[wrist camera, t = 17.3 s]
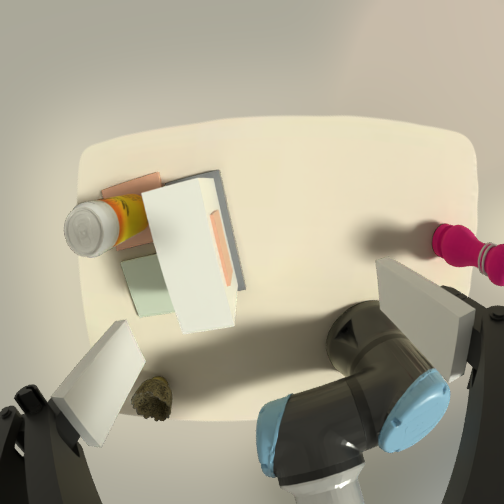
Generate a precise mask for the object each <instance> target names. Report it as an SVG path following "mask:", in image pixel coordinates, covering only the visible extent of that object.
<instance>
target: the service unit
mask: <svg viewBox="0 0 504 504" xmlns="http://www.w3.org/2000/svg"><path fill="white" fill-rule="evenodd" d="M165 185H166V186H165V187H161V188H157V189H154V190H150V191H147V192H144V193H141V194H142V198H143V202H144V207H145V211H146V215H147V219H148V223H149V227H150V230H151V234H152V238H153V242H154V245H155V249H156V252H157V256H158V259H159V263H160V266H161V270H162V273H163V276H164V279H165V283H166V286H167V289H168V292H169V295H170V298H171V301H172V304H173V307H174V310H175V313H176V316H177V319H178V322H179V325H180V327H181V330H182V333H183V334H189V333H196V332H203V331H209V330H215V329H222V328H228V327H233V326H235V314H236V302H237V291H241V290H246V284H245V280H244V275H243V271H242V267H241V262H240V258H239V253H238V249H237V245H236V240H235V236H234V231H233V227H232V222H231V218H230V213H229V209H228V204H227V200H226V195H225V191H224V186H223V182H222V177H221V172H220V170H216V171H212V172H207V173H203V174H199V175H195V176H191V177H187V178H184V179H180V180H176V181H172V182H169V183H165Z"/></svg>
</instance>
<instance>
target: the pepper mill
mask: <svg viewBox="0 0 504 504" xmlns="http://www.w3.org/2000/svg"><path fill="white" fill-rule="evenodd" d="M432 246H433V250H434V252H435V254H436V255H437V256H439V257H441V258H444V259H445V261H446V262H447V263H448V264H449V265H452V266H455V267H466V266H475V267H477V268H479V271H480V273H482V274H484V275H485V276H488V277H489V279H490V280H491V282H492V283H494V284H495V285H498V286H504V244H500V245H497V244H493V243H491V242H489V243H486V244H485V243H482V242H480V241H479V240H478V239H477V238H476V237H475V235H474V234H473V233H472V232H471V231H470V230H469V229H468V228H466V227H464V226H462V225H455V226H453V225H449V224H442V225H441V226H439V227H438V228H437V229H436V231H435V233H434V236H433V240H432Z"/></svg>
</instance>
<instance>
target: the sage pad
mask: <svg viewBox="0 0 504 504" xmlns="http://www.w3.org/2000/svg"><path fill="white" fill-rule="evenodd" d="M121 266H122V269H123V272H124V275H125V278H126V281H127V284H128V287H129V290H130V293H131V296H132V299H133V301H134V304H135V307H136V309H137V312H138V315H139V317H147V316H154V315H161V314H167V313H174V312H175V310H174V307H173V304H172V301H171V298H170V295H169V292H168V289H167V286H166V283H165V279H164V276H163V273H162V270H161V266H160V263H159V259H158V256H157V253H156V254H152V255H147V256H143V257H138V258H134V259H130V260H125V261H122V262H121Z"/></svg>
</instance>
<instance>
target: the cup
mask: <svg viewBox="0 0 504 504" xmlns="http://www.w3.org/2000/svg"><path fill="white" fill-rule="evenodd" d="M131 404H134V405H133V408H134V409H135V408H136V411H137V414H138V415H144V418H145V419H147V418H149V416H150V417H151V418H153V417H154V418H155V421H158V420H160V421H164V420H165V419H166V418H169V415H170V414H171V405H172V392H171V389H170V388H169V386H168V382H167V381H166V379H164V378H163V377H160V376H156V377H153V378H152V379H149V380H146V381H145V382H143V383H142V384H141V386H140V387H139V388H138V390H137V391H136V393H135V394H134V396H133V397H132V399H131Z"/></svg>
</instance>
